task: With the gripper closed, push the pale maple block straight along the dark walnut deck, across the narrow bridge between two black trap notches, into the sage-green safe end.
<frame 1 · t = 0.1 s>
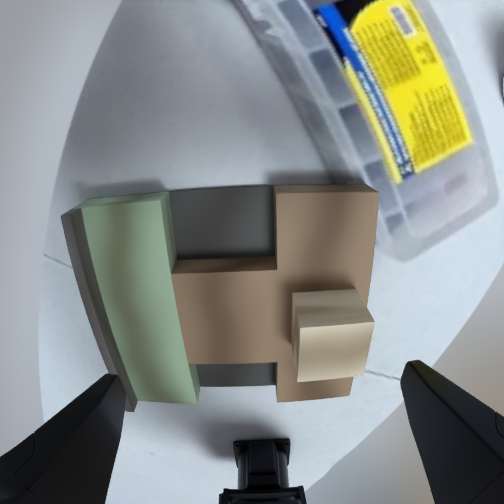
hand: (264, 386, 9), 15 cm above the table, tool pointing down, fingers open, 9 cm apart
maple block: (322, 317, 22), point 2 cm above the table, touching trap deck
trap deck: (229, 303, 25), on the table
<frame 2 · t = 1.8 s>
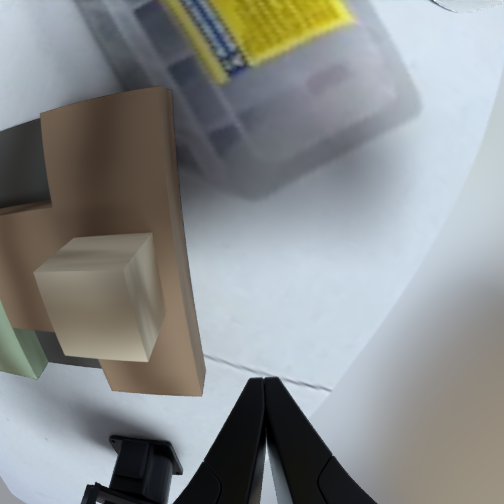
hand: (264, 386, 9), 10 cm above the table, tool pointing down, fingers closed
maple block: (119, 275, 16), point 2 cm above the table, touching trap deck
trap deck: (45, 260, 18), on the table
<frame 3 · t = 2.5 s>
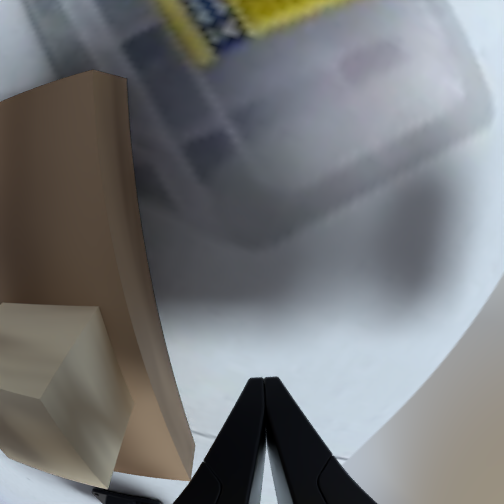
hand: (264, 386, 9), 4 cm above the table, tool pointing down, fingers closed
maple block: (65, 356, 10), point 2 cm above the table, touching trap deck
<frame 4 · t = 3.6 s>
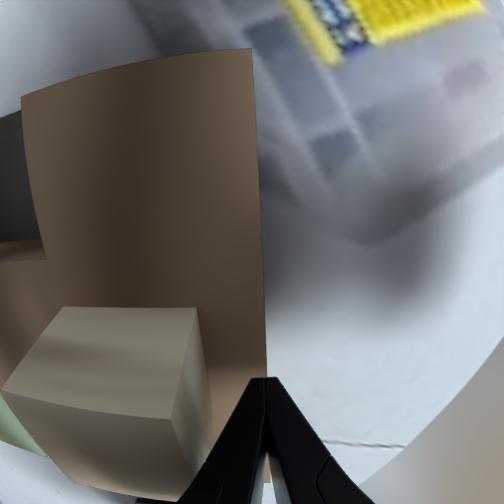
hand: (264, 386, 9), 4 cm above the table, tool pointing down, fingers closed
maple block: (140, 363, 10), point 3 cm above the table, touching gripper
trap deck: (43, 320, 12), on the table
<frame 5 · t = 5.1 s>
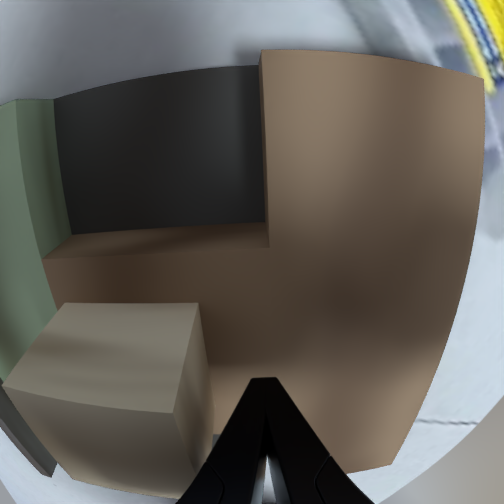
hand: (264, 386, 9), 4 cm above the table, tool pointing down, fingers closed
maple block: (141, 360, 10), point 2 cm above the table, touching gripper, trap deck
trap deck: (178, 322, 12), on the table
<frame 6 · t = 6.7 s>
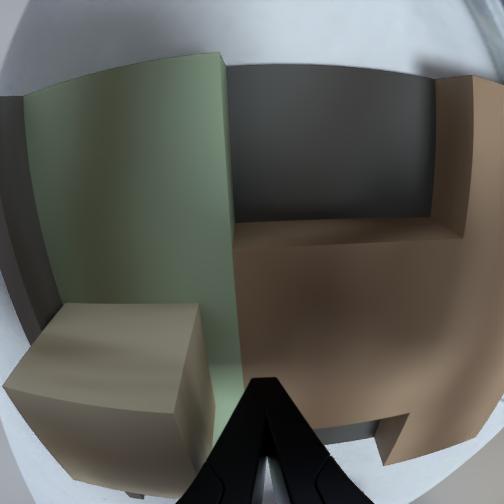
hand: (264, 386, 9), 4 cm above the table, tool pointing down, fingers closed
maple block: (142, 360, 10), point 2 cm above the table, touching gripper, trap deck
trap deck: (332, 315, 12), on the table
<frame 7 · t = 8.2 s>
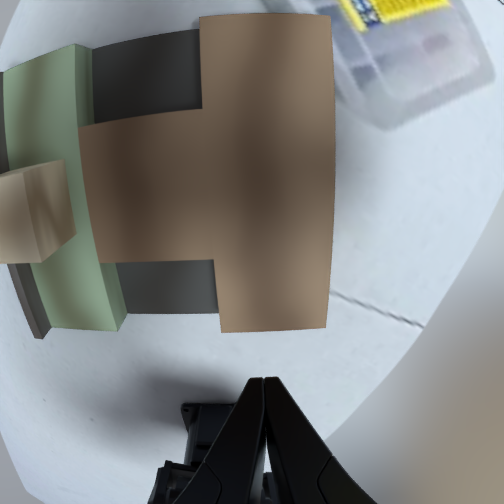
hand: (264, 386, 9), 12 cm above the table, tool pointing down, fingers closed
maple block: (41, 201, 16), point 2 cm above the table, touching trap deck
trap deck: (155, 182, 18), on the table
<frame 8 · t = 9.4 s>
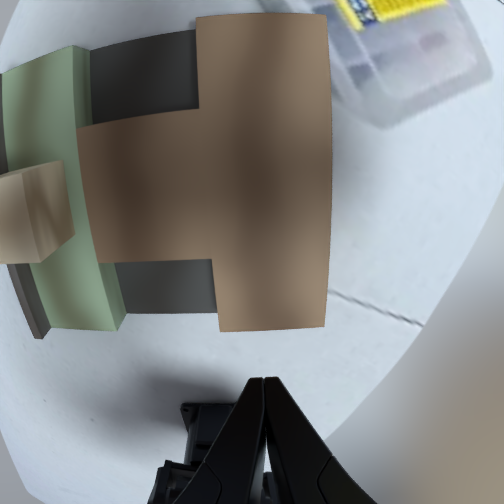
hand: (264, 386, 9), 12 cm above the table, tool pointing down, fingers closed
maple block: (40, 201, 16), point 2 cm above the table, touching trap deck
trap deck: (153, 182, 18), on the table
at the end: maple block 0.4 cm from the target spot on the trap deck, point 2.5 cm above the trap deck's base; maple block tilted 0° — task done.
